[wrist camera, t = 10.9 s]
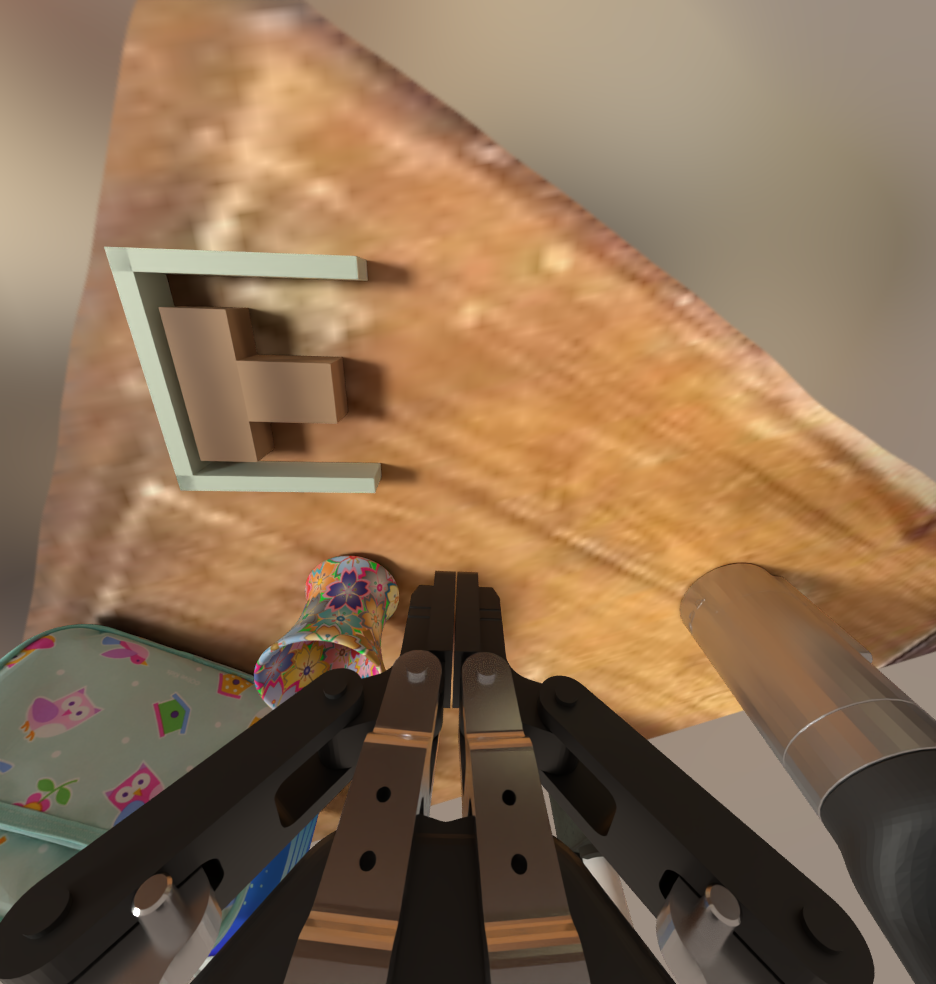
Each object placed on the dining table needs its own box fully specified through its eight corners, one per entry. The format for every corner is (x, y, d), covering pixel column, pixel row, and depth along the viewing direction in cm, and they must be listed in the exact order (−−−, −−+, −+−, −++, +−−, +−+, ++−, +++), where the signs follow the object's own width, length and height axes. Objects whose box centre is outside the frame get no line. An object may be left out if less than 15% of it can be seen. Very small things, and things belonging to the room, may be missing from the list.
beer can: (284, 808, 54) (221, 996, 39) (243, 775, 50) (158, 968, 36) (338, 791, 52) (294, 979, 38) (300, 756, 49) (236, 948, 34)
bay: (366, 260, 26) (356, 256, 24) (381, 476, 33) (375, 493, 30) (140, 251, 26) (104, 246, 23) (203, 474, 32) (180, 490, 30)
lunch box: (333, 694, 44) (241, 1001, 25) (296, 745, 48) (191, 1046, 29) (66, 594, 37) (-347, 914, 18) (46, 662, 41) (-315, 988, 22)
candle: (557, 699, 46) (656, 1091, 23) (592, 713, 47) (718, 1097, 25) (531, 725, 48) (600, 1110, 25) (565, 738, 49) (660, 1115, 26)
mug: (290, 552, 36) (232, 645, 26) (393, 540, 36) (371, 629, 26) (328, 649, 41) (290, 756, 32) (417, 639, 41) (406, 743, 31)
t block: (338, 311, 27) (324, 312, 25) (351, 449, 32) (341, 464, 29) (188, 305, 27) (158, 307, 24) (223, 446, 32) (200, 460, 29)
